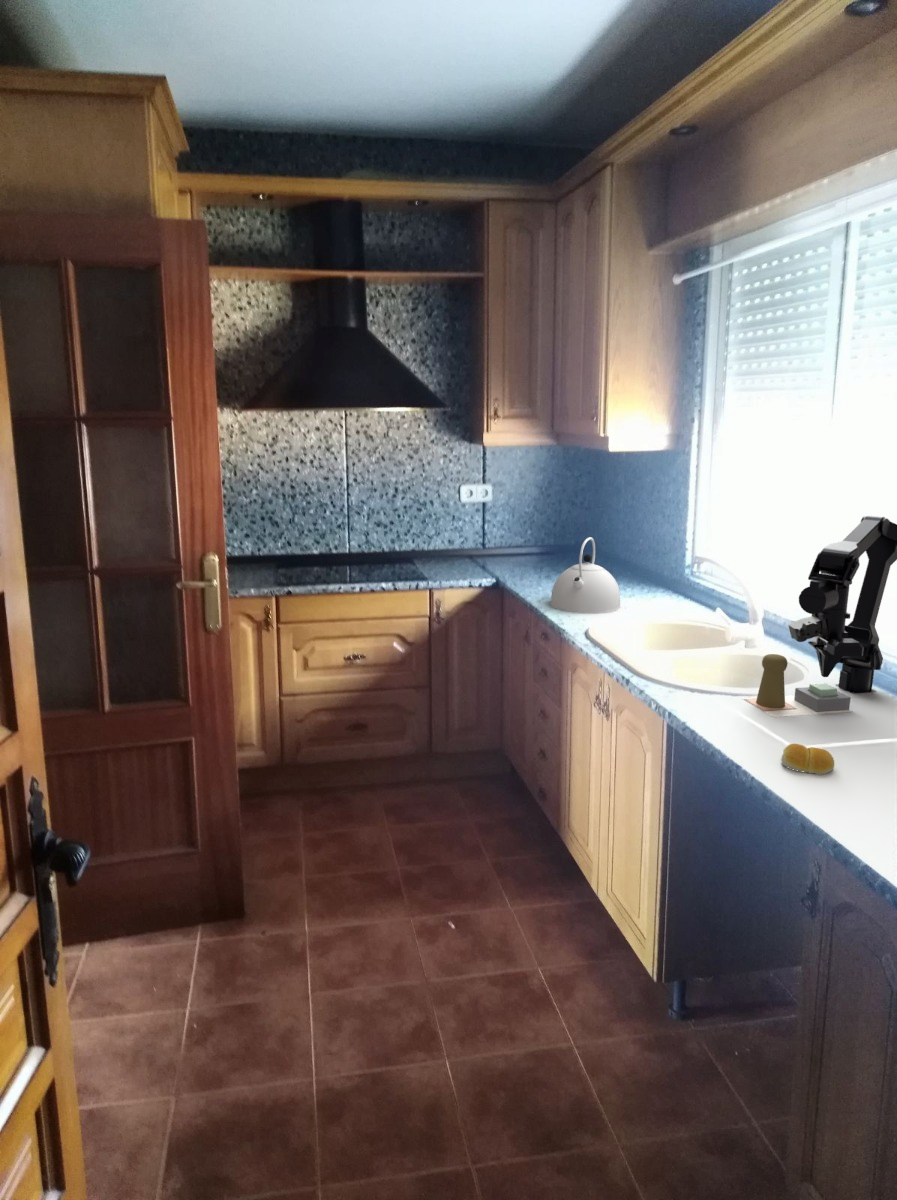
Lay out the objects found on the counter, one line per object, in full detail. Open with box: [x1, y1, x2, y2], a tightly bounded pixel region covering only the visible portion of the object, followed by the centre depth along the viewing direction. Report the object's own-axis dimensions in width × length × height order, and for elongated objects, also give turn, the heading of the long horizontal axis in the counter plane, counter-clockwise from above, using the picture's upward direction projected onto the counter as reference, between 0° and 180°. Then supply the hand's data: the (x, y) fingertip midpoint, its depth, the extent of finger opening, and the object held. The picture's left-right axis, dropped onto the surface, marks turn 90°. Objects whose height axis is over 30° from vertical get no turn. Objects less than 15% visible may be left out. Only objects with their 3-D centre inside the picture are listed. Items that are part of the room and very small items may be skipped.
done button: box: [808, 682, 838, 697], centre depth 191 cm, size 4×4×2 cm
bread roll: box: [780, 743, 835, 775], centre depth 160 cm, size 8×9×4 cm
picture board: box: [743, 686, 853, 718], centre depth 192 cm, size 19×12×3 cm, turn 103°
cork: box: [756, 653, 789, 708], centre depth 191 cm, size 6×6×11 cm
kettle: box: [550, 536, 621, 614], centre depth 285 cm, size 25×23×22 cm
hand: (824, 676), depth 191 cm, fingers closed
